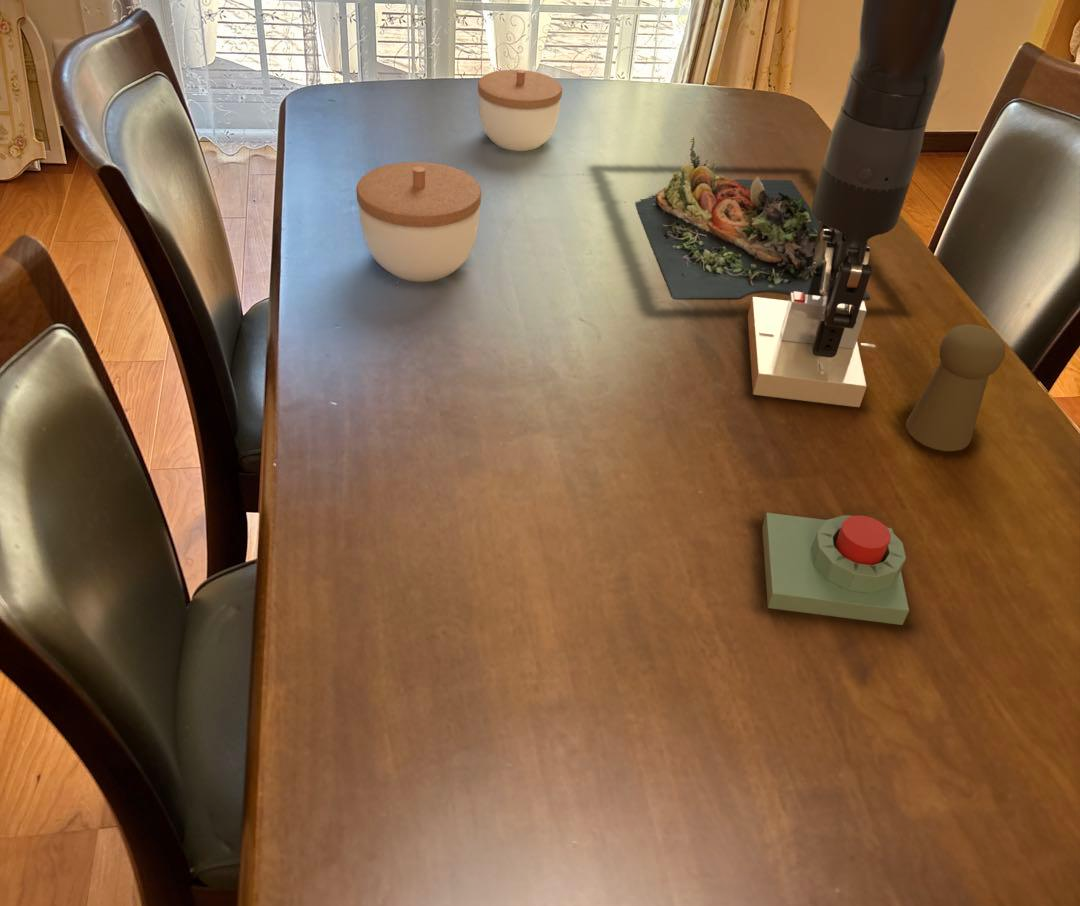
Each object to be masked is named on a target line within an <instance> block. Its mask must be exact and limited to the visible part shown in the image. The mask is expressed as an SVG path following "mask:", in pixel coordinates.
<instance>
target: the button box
mask: <svg viewBox="0 0 1080 906" xmlns="http://www.w3.org/2000/svg"><path fill="white" fill-rule="evenodd" d="M852 516H853V515H850V514H849V515H847V514H844V515H840V516H836V517H832V518H829V519H822V518H813V517H806V516H798V515H791V514H790V515H789V514H781V513H775V512H774V513H773V512H766V513H765V517H764V520H763V524H762V527H761V529H762V544H763V557H764V558H763V559H764V572H765V588H766V589H765V590H766V602H767V608H768V609H774V610H781V611H788V612H789V611H790V612H798V613H805V614H813V615H820V616H828V617H836V618H844V619H851V620H859V621H867V622H868V621H869V622H875V623H883V624H891V625H899V626H903V625H904V623H905V620H906V619H907V616H908V614H909V613H910V607H909V603H908V598H907V594H906V588H905V584H904V579H903V574H902V570H903V567H904V564H905V563H906V560H907V556H906V552H905V547H904V543H903V541H902V540H901V539H900V538H899V537H898V536H897V535H896V534H895V533H894V530H893V528H892V527H888V526H886V527H887V528H888V530H889V532H890V535H891V540H890V542H889V545H888V547H887V550H886V552H885V554H884V557H883V558H882V560H881V561H879V562H878V563H876V564H872V565H866V564H858V563H855V562H853V561H851V560H849V559H847V558H845V557H843V556H842V555H841V554H840V552H839V551H838V549H837V547H836V540H837V537H838V535H839V532H840V529H841V527H842V524H843V522H844V521H845V520H846V519H847V518H849V517H852Z"/></svg>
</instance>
